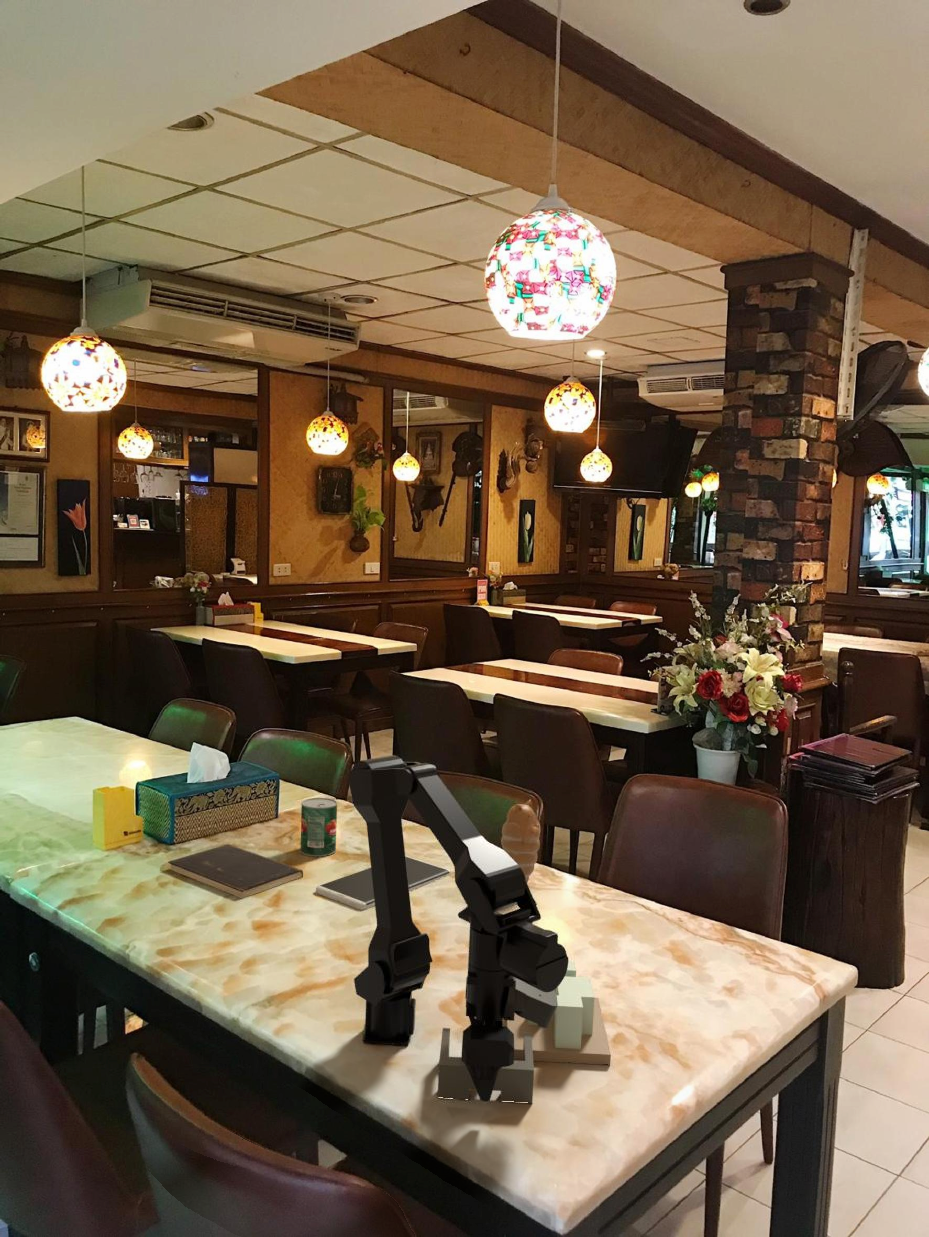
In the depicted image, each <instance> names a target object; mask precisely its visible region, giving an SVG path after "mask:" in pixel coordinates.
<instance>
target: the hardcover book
mask: <svg viewBox="0 0 929 1237" xmlns="http://www.w3.org/2000/svg"><path fill="white" fill-rule="evenodd" d="M167 863H168V864H170V870H171V871H172V872H175V873H178V874H180V875H183V876H185V877H187V878H191V879H192V880H195V879H196V880H195V881H198V882H199V883H203V884H205V885H208V886H210V885H211V887H212V888H216V889H219V890H220V891H223V892H225V891H226V893H228V894H231V895H234V896H236V897H238V898H240V899H245V898H247V897H250V896H253V895H255V894H258V893H261V892H264V891H267V890H270V889H272V888H276V887H278V886H281V885H284V884H286V883H290V882H292V881H295V880H298V879H300V878H299V877H301V878H304V871H303V870H302V869H301V868H298V867H294V866H292V865H289V864H286V863H283V862H280V861H277V860H274V859H272V858H270V857H266V856H263V855H260V854H259V853H258V854H257V853H255V852H252V851H249V850H246V849H243V848H240V847H238V846H235V845H231V844H228V843H227V844H225V845H224V844H223V845H221V846H216V847H213V848H211V849H206V850H202V851H200V852H197V853H193V854H191V855H190V854H189V855H187V856H182V857H180V858H176V859H172V860H170V861H168V862H167ZM297 878H298V879H297ZM294 879H295V880H294ZM291 880H292V881H291ZM289 881H290V882H289ZM275 886H276V887H275Z"/></svg>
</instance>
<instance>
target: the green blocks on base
mask: <svg viewBox="0 0 929 1237" xmlns="http://www.w3.org/2000/svg"><path fill="white" fill-rule="evenodd" d="M554 991H555V992H556V995H557V1003H558V1006H557V1008H556V1010H555V1012H554V1015H553V1017H552V1019H551V1022H550V1024H549V1026H548V1028H542V1027H540V1026H538V1024H537V1023H534V1022H532V1021H529V1020H527V1019H524V1018H522V1017H520V1016H518V1015H517V1014H515V1015H514V1021H510V1020H506V1027H508V1028H509V1030H510V1031H511V1032H512V1033H513V1034H514V1060H517V1061H523V1042H524V1033H531V1035H532V1049H533V1062H544V1063H545V1062H546V1063H547V1062H548V1063H562V1062H564V1063H566V1064H569V1063H568V1062H571V1063H570V1064H580V1063H588V1064H587V1065H597V1064H608V1065H607V1066H611V1055H612V1053H611V1049H610V1045H609V1041H608V1035H607V1031H606V1027H605V1023H604V1017H603V1013H602V1008H601V1004H600V1001H599V1000H600V999H599V998H598V997H595V993H594V989H593V984H592V979H591V977H582V976H581V977H580V976H577V967H576V962H575V961H573V960H568V968H567V971H566V974H565V977H564V979H563V980H562V982H561V984H560V985H559V986H558V987H557V988H556V989H554ZM564 1063H563V1064H564Z"/></svg>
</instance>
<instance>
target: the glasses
mask: <svg viewBox="0 0 929 1237" xmlns="http://www.w3.org/2000/svg"><path fill="white" fill-rule="evenodd" d="M450 1037H451V1028H448V1027H442V1032H441V1041H440V1050H439V1051H440V1052H439V1061H438V1072H437V1074H438V1078H437V1079H438V1080H437V1098H438V1097H443V1098H453V1099H469V1100H470V1090H476V1088H475V1085H474V1083H473V1080H472V1078H471V1076H470V1073H469V1071H468V1069H467V1067H466V1065H465V1064H464V1063H463V1062H462V1061H461V1056H459V1057H458V1056H450V1042H451V1040H450ZM534 1076H535V1067H534V1061H533V1049H532V1035H531V1033H524V1042H523V1060H514V1064H512V1065H510V1066H507V1067H502V1068H500V1069H499V1072H498V1075H497V1078H496V1081H495V1085H494V1088H493V1091H495V1092H496V1091H497V1092H500V1102H501V1101H514V1102H528V1103H532V1104H533V1098H534V1097H533V1096H534V1078H535V1077H534ZM476 1091H477V1090H476ZM493 1091H492V1092H493ZM453 1099H452V1100H453Z"/></svg>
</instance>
